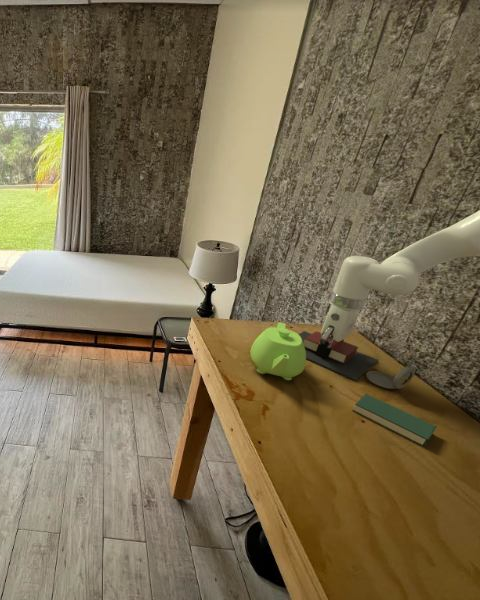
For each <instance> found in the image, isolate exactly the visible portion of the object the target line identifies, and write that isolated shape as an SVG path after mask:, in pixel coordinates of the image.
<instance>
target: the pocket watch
mask: <svg viewBox="0 0 480 600" xmlns="http://www.w3.org/2000/svg"><path fill="white" fill-rule="evenodd" d="M417 361H418V359H417V358H414V359H412V360H410V361H409V362H408V363H407V364H408V365H405V366H404V367H403V368H401V369H400V371H399V372H397V374H396V375H395V377H393V376H391V375H390V374H387V373H384V372H381V371H376V370H374V371H373V370H370V371H367V372H366V373H365V374H366V375H365V377H366V378H367V380H368V381H369V382H370V383H372V384H373V385H375V386H378V387H381V388H383V389H386V390H387V389H389V390H395V389H398V390H401V389H402V388H404V387H405V386H407V385H408V384H409V383H410V382H411V380H412V379H413V378H414V376H415V374H416V371H417V369H416V367H414V366H413V365H414V363H415V362H417Z"/></svg>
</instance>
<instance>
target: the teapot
mask: <svg viewBox="0 0 480 600" xmlns="http://www.w3.org/2000/svg"><path fill="white" fill-rule="evenodd" d="M286 326H287V324H286V323H285V322H280V321H279V322H277V325H276V326H269V327H267V328H266V329H264V330H263V331H262V332H261V333H260V334H259V335H258V336H257V337H256V338H255V340H254V341H253V343H252V345H251V347H250V351H249V355H250V358H251V360H252V363H253V364H254V366H255V367H256V372H257V373H259V374H261V375H265V374H271V375H273V376H278V377H281V378H282V379H284V380H286V381H292V380H293V378H294V377H296V376H299V375H301V374H302V372H304V370H305V368H306V363H307V360H306V352H305V347H304V344H303V341H302V339H301V337H300V336H299V333H297V332H296V331H294V330H290V329H288V328H286Z"/></svg>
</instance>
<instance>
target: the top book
mask: <svg viewBox="0 0 480 600" xmlns="http://www.w3.org/2000/svg"><path fill="white" fill-rule="evenodd" d="M321 337H322V335H321V331H317V330H316V331H314V332H313V333H311V335H310V336H308V337H307V338H305V340H304V343H303V344H304V347H305V348H307V349H310V350H312V351H314V352H316V350H317V347H318V345H319V342H320V340H321ZM329 337H331V335H330V336H329ZM331 338H333V337H331ZM328 341H329V343H330V341H331V340H330V339H328ZM331 348H332V350H331V352H330V355H329V358H331V359H333V360H336V361H338V362H341V363H343V364H345V363H346V362H347V361H348V360H350V359H351V358H352V357H353V356H355V353H356V351H357V352H358V348H359V346H357V345H355V344H354V345H353V344H351V343H350V342H347V341H345V340H344V341H340V342H337V341H336V340H335V341H334V343H333V344H332V346H331Z"/></svg>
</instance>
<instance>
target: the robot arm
mask: <svg viewBox="0 0 480 600" xmlns="http://www.w3.org/2000/svg"><path fill="white" fill-rule="evenodd" d="M478 256H480V209H479V210H478V211H476V212H474V213H473V214H471V215H469V216H466V217H465V218H463V219H461V220H460V221H458V222H456V223H454V224H451V225H450V226H448V227H445V228H443V229H441V230H439V231H437V232H435V233H433V234H430V235H428V236H426V237H423V238H421V239H420V240H417V241H415V242H414V243H411V244H410V245H408V246H406V247H404V248H403V249H401V250H399V251H398V252H396V253H394V254H392V255H391V256H388V257H387V258H386V259H384V260H383V261H382V262H381V263H380V262H379V261H378V260H377V259H374V258H371V257H368V256H362V255H349V256H348V257H346V258H345V259H343V261H342V264H341V267H340V269H339V272H338V275H337V278H336V281H335V283H334V287H333V290H332V292H331V295H330V297H329V301H328V302H329V304H330V305H331V306H330V308H329V310H328V313H327V315H326V317H325V319H324V321H323V324H322V328H321V330H320V333H321V335H322V337H321V340H320V342H319V345H318V347H317V350H316V353H315V355H316V356H319V357H321V358H323V359H326V360H327V359H328V357H329V355H330V352H331V350H332V348H331V346H332V344H333V343H334V341H335V340H336V341H337V342H340V341H344V342H345V339H346V338H348V337H349V336H350V335H351V334H352V333H353V331H354V328H355V325H356V322H357V319H358V316H359V313H360V311H362V310H363V309H364V306H365V303H366V301H367V299H368V296H369V293H370V291H371V290H373V291H376V292H379V293H383V294H386V295H391V296H404V295H408V294H410V293H412V292H413V291H415V290H416V289H417V288H418V287H419V286H418V285H419V283H420V278H419V275H420V274H422V273H424V272H426V271H428V270H430V269H432V268H434V267H437V266H438V265H441V264H443V263H446V262H449V261H452V260H457V259H460V258H469V257H478ZM329 336H330V337H329ZM331 337H333V338H331ZM328 339H330V340H331V341H330V343H329V341H328Z"/></svg>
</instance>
